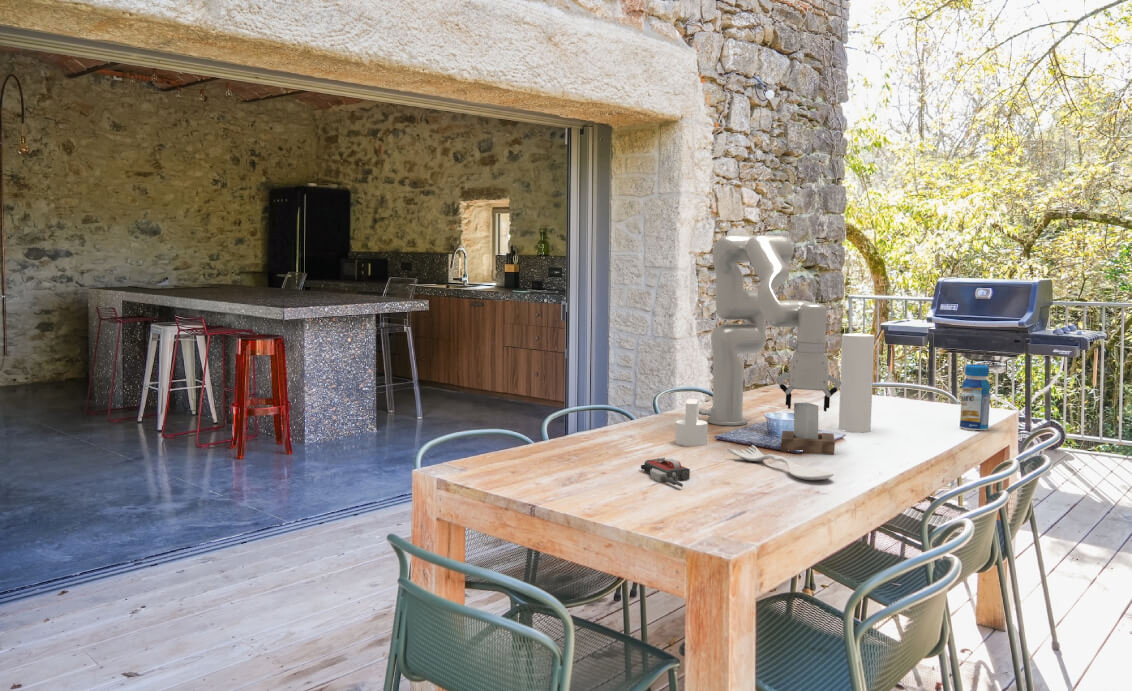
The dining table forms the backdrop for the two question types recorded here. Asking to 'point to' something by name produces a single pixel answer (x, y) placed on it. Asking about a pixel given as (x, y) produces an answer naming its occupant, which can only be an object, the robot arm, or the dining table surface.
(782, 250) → the robot arm
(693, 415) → the cylinder with rectangular tab
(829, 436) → the socket block
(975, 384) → the beverage bottle
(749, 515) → the dining table surface
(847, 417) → the tall grey rectangular pillar
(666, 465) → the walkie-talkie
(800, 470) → the beige plastic utensil
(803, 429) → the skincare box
